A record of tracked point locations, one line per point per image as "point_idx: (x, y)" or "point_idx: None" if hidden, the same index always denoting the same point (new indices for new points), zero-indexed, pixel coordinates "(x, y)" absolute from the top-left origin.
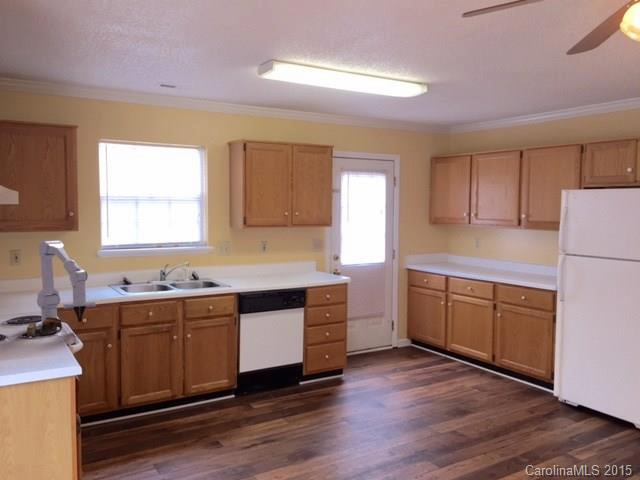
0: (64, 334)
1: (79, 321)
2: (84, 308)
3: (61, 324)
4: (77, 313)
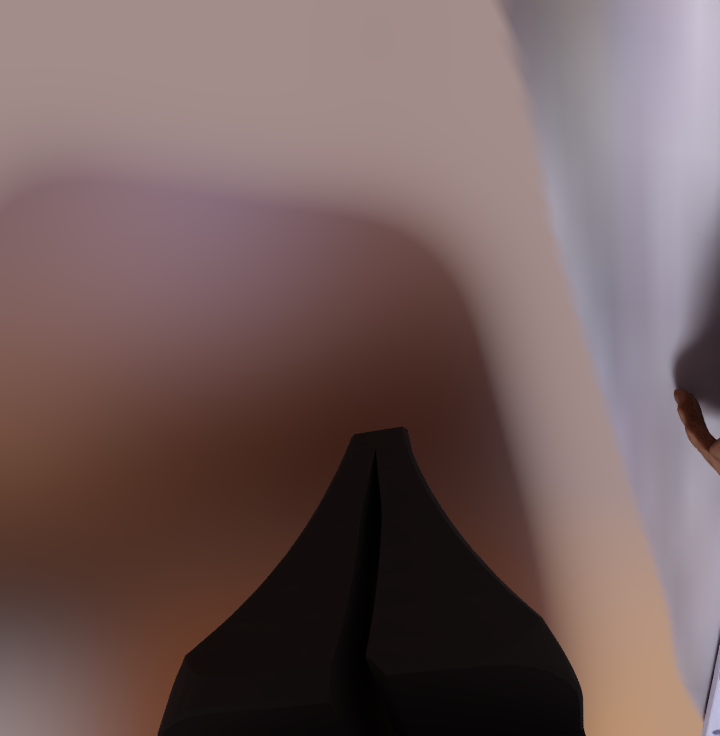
0: (603, 7)
1: (385, 432)
2: (169, 705)
3: (715, 443)
4: (426, 553)
